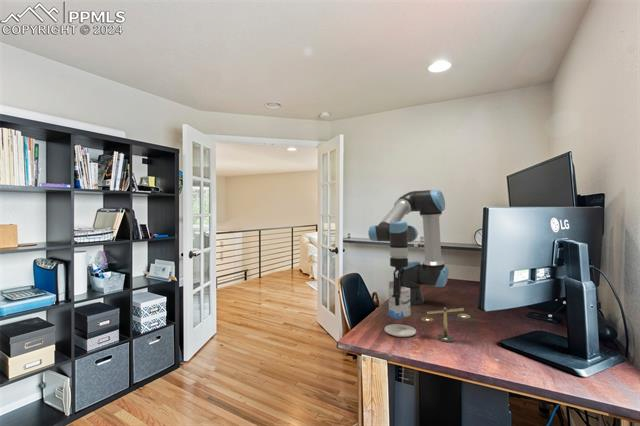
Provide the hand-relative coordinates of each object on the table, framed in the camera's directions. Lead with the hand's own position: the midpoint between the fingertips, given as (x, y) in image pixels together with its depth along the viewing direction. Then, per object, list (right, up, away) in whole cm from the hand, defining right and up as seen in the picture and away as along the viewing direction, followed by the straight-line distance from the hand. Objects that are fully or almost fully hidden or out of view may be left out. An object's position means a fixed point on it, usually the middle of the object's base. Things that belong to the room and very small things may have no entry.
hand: (399, 309), depth 129 cm
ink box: (0, -3, 0) cm, 3 cm away
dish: (0, -10, 0) cm, 10 cm away
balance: (+16, -9, -8) cm, 20 cm away
